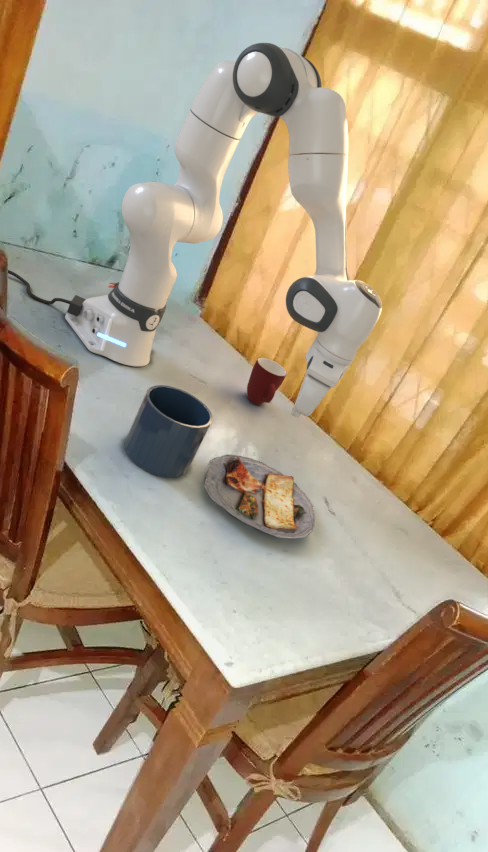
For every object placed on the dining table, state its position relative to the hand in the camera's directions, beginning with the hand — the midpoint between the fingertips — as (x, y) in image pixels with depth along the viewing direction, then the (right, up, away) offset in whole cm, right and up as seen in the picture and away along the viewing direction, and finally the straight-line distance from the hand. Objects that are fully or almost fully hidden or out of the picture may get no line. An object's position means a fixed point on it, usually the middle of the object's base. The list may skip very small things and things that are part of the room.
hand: (295, 413), depth 153 cm
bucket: (-28, -10, -13) cm, 32 cm away
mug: (-8, +6, +26) cm, 28 cm away
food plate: (-8, -19, -10) cm, 23 cm away
